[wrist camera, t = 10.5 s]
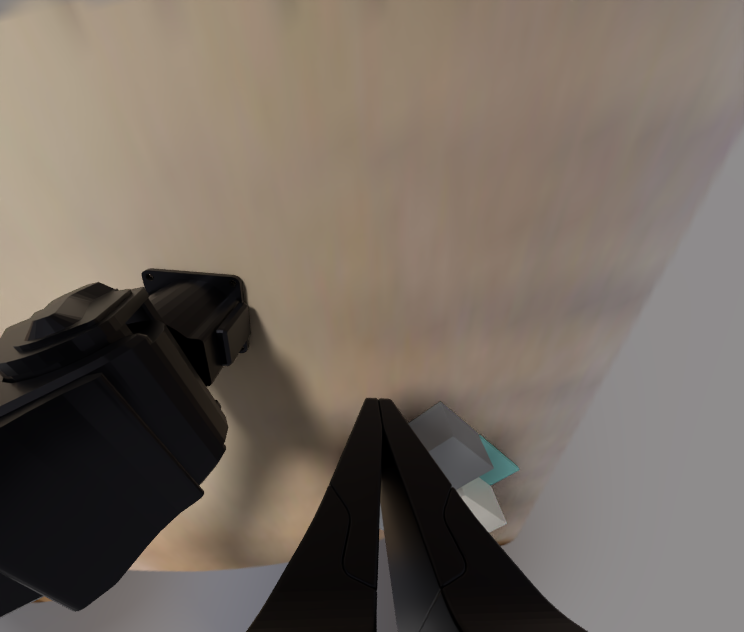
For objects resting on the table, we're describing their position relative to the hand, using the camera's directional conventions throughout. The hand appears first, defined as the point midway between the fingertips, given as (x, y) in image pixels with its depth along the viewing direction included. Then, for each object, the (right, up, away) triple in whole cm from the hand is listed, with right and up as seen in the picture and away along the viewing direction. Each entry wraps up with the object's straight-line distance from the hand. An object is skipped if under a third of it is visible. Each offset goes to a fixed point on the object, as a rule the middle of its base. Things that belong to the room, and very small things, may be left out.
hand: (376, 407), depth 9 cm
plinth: (+4, -12, +21) cm, 24 cm away
